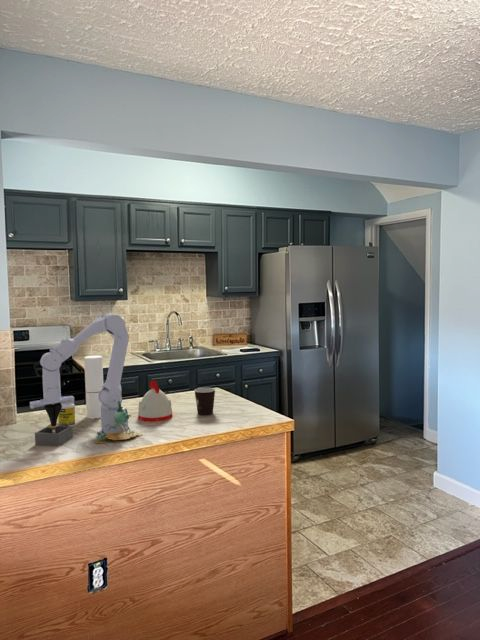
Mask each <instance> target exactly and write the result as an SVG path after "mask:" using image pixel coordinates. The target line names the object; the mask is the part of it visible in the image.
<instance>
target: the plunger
mask: <svg viewBox="0 0 480 640" xmlns="http://www.w3.org/2000/svg"><path fill="white" fill-rule="evenodd" d="M47 426H48V429H52V432H53V433H56V432H55V429H57V428H59V424H58V423H57V424H56V425H55V426H52V425H51V423H50V424H48V425H47Z"/></svg>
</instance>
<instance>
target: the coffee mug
mask: <svg viewBox="0 0 480 640" xmlns="http://www.w3.org/2000/svg"><path fill="white" fill-rule="evenodd" d="M194 394H195V395H194V396H195V403H196V404H195V405H196V410H197V411H196V412H197V415H199V416H205V417H206V416H211V415H213V413H214V407H215V405H214V404H215V395H216V389H215V388H213V387H198V388H195V389H194Z"/></svg>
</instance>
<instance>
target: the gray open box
mask: <svg viewBox="0 0 480 640" xmlns="http://www.w3.org/2000/svg"><path fill="white" fill-rule="evenodd" d="M55 432H56V433H53V432H52V429H48V425H47V426H46V427H45V426H44V427H43V428H42V429H40V430H38V431H35V432H34V442H35V444H34V445H35V446H51V447H61V446H62V445H64V444H65V443H67V442H68V441H70V440H71V439H73V438H74V435H73V427H72V426H59V428H57V429H55Z"/></svg>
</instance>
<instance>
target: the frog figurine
mask: <svg viewBox="0 0 480 640" xmlns="http://www.w3.org/2000/svg"><path fill="white" fill-rule="evenodd" d="M118 406H119V409H118V410H117V412H116V413H115V415H114V420H115V422H116V423H117V424H118V425H119V424H122V425H123V426H124V423H125V422H126V421H127V419H128V420H129V419H130V417H132V416H131V414H129V413H128V414H127V411H128V410H126V412H125V411H124V410H123V409H122V408H124V407H123V406H122V403H121V402H120V401H118ZM117 424H116V425H117ZM107 425H108V424H107ZM107 425H106V426H107ZM116 425H114V426H111V427H110V428H114V429H116V428H117V427H118V425H117V427H115V426H116ZM106 426H105V427H106ZM109 426H110V425H109ZM119 426H120V425H119ZM125 426H127V425H125ZM125 426H124V428H125ZM110 428H109V430H110ZM120 428H121V427H120ZM121 429H122V428H121ZM109 430H108V431H109ZM122 430H123V429H122ZM125 430H126V428H125ZM141 436H142V437H143V436H144V434H143V433H140V432H136V431H134V430H132V431H131V430H130V427H129V426H128V429H127V430H126V431H122V432H116V433H115V432H112V433H108V434H106V433H104V431H103V429H102V433H99V435H98V436H97V439H96V441H95V442H94V444H95V445H101V444H102V445H103V444H106V443H109V442H110V440H112V441H122V440H123V441H124V440H129V439H133V438H137V437H141ZM105 439H108V440H105Z"/></svg>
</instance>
